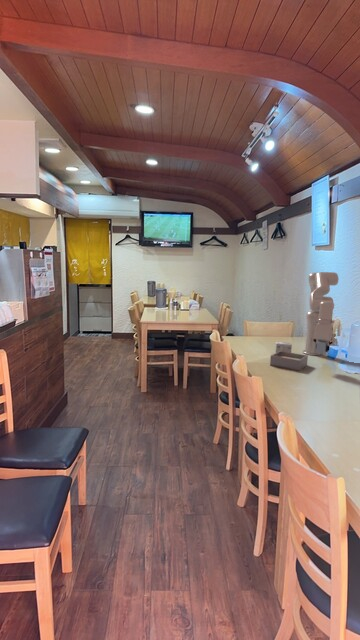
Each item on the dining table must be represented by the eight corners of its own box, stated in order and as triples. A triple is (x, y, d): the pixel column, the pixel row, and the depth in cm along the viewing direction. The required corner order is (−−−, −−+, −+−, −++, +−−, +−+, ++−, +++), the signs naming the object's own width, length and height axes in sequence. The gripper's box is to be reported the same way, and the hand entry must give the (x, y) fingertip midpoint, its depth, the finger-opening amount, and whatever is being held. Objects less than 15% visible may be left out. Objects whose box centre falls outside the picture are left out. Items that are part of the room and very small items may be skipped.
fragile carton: (319, 350, 235) (320, 339, 234) (328, 351, 232) (329, 340, 231) (315, 352, 228) (316, 341, 227) (324, 354, 225) (325, 343, 224)
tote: (279, 360, 253) (280, 350, 252) (307, 365, 242) (307, 355, 241) (270, 365, 239) (270, 355, 238) (298, 370, 229) (299, 360, 228)
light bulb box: (289, 357, 262) (290, 342, 260) (291, 359, 255) (292, 344, 254) (273, 356, 263) (274, 341, 261) (275, 358, 256) (276, 343, 255)
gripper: (341, 322, 225) (338, 351, 228) (312, 319, 234) (309, 347, 238) (338, 324, 219) (335, 354, 222) (308, 320, 228) (306, 349, 232)
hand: (322, 350), depth 230 cm, fingers closed on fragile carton, 5 cm apart
